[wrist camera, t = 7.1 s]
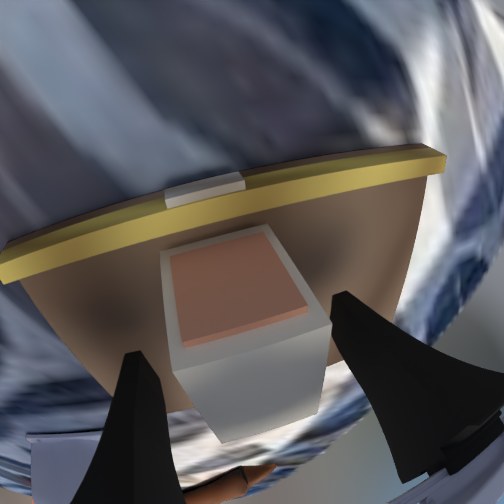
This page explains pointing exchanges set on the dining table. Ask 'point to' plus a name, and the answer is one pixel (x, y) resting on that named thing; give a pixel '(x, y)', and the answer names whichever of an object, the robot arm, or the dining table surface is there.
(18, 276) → the shelf board
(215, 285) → the carton
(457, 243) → the dining table surface
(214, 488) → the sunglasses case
